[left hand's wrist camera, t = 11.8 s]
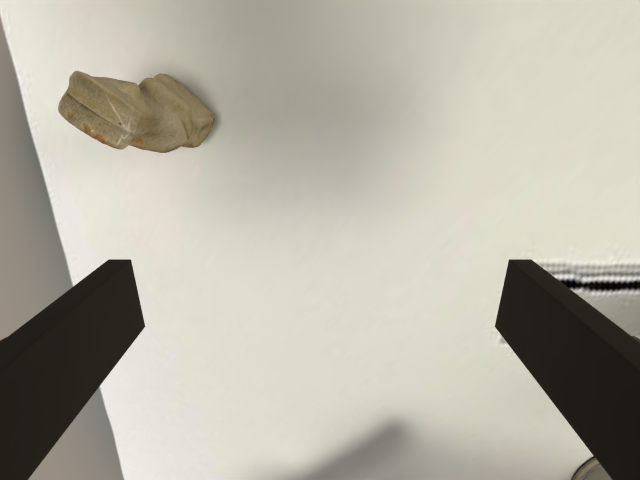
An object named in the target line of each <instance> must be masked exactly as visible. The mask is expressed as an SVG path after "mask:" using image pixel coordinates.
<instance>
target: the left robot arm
mask: <svg viewBox="0 0 640 480" xmlns="http://www.w3.org/2000/svg"><path fill="white" fill-rule="evenodd" d="M144 327H145V324H144V319H143V315H142V310H141V305H140V300H139V296H138V291H137V286H136V281H135V277H134V272H133V267H132V263H131V260H108V261H106V262H105V263H104V264H102V265H101V266H100V267H99V268H97V269H96V270H95V271H93V272H92V273H91V274H89V275H88V276H87V277H85V278H84V279H83V280H82V281H80V282H79V283H78V284H76V285H75V286H74V287H72V288H71V289H70V290H68V291H67V292H66V293H65V294H63V295H62V296H61V297H59V298H58V299H57V300H55V301H54V302H53V303H51V304H50V305H49V306H48V307H46V308H45V309H44V310H42V311H41V312H40V313H38V314H37V315H36V316H34V317H33V318H32V319H31V320H29V321H28V322H27V323H25V324H24V325H23V326H21V327H20V328H19V329H18V330H16V331H15V332H14V333H12V334H11V335H10V336H8V337H6V338H4V339H2V340H1V341H0V480H28V479H29V477H30V476H31V475H32V474H33V472H34V471H35V470H36V468H37V467H38V466H39V464H40V463H41V462H42V460H43V459H44V458H45V457H46V455H47V454H48V453H49V451H50V450H51V449H52V447H53V446H54V445H55V443H56V442H57V441H58V440H59V438H60V437H61V436H62V434H63V433H64V432H65V430H66V429H67V428H68V427H69V425H70V424H71V423H72V421H73V420H74V419H75V417H76V416H77V415H78V413H79V412H80V411H81V410H82V408H83V407H84V406H85V404H86V403H87V402H88V400H89V399H90V398H91V396H92V395H93V394H94V393H95V391H96V390H97V389H98V387H99V386H100V385H101V383H102V382H103V381H104V379H105V378H106V377H107V376H108V374H109V373H110V372H111V370H112V369H113V368H114V366H115V365H116V364H117V363H118V361H119V360H120V359H121V357H122V356H123V355H124V353H125V352H126V351H127V349H128V348H129V347H130V346H131V344H132V343H133V342H134V340H135V339H136V338H137V336H138V335H139V334H140V332H141V331H142V330H143V329H144ZM495 327H496V329H497V330H498V331H499V332H500V334H501V335H502V336H503V338H504V339H505V340H506V342H507V343H508V344H509V346H510V347H511V348H512V349H513V351H514V352H515V353H516V355H517V356H518V357H519V359H520V360H521V361H522V363H523V364H524V365H525V366H526V368H527V369H528V370H529V372H530V373H531V374H532V376H533V377H534V378H535V379H536V381H537V382H538V383H539V385H540V386H541V387H542V389H543V390H544V391H545V393H546V394H547V395H548V396H549V398H550V399H551V400H552V402H553V403H554V404H555V406H556V407H557V408H558V410H559V411H560V412H561V413H562V415H563V416H564V417H565V419H566V420H567V421H568V423H569V424H570V425H571V427H572V428H573V429H574V430H575V432H576V433H577V434H578V436H579V437H580V438H581V440H582V441H583V442H584V443H585V445H586V446H587V447H588V449H589V450H590V451H591V453H592V454H593V455H594V457H595V458H596V459H597V460H598V462H599V463H600V464H601V466H602V467H603V468H604V470H605V471H606V472H607V474H608V475H609V476H610V477H611V479H612V480H640V339H639V338H637V337H635V336H630V335H629V334H628V333H626V332H625V331H624V330H622V329H621V328H620V327H619V326H617V325H616V324H615V323H613V322H612V321H611V320H609V319H608V318H607V317H606V316H604V315H603V314H602V313H600V312H599V311H598V310H596V309H595V308H594V307H592V306H591V305H590V304H589V303H587V302H586V301H585V300H583V299H582V298H581V297H579V296H578V295H577V294H575V293H574V292H573V291H572V290H570V289H569V288H568V287H566V286H565V285H564V284H562V283H561V282H560V281H558V280H557V279H556V278H555V277H553V276H552V275H551V274H549V273H548V272H547V271H545V270H544V269H543V268H541V267H540V266H539V265H538V264H536V263H535V262H534V261H532V260H509V263H508V267H507V272H506V277H505V281H504V286H503V291H502V296H501V300H500V305H499V310H498V315H497V319H496V324H495Z"/></svg>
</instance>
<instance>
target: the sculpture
mask: <svg viewBox="0 0 640 480" xmlns="http://www.w3.org/2000/svg"><path fill="white" fill-rule="evenodd" d="M58 110H59V113H60V114H61V115H62V117H64V118H65V119H66V120H67V121H68V122H69V123H71V124H72V125H74V126H75V127H76V128H78V129H79V130H81V131H83V132H84V133H86V134H87V135H89V136H91V137H92V138H94V139H96V140H98V141H100V142H101V143H103V144H106V145H108V146H111V147H113V148H116V149H124V148H126V147H127V146H128V145H131V146H134V147H137V148H139V149H143V150H150V151H155V152H160V153H166V152H170V151H172V150H175V149H177V148H179V147H181V146H183V147H189V148H194V147H198V146H199V145H200V144H201V143H202V142H203V141H204V139H205V138H206V136H207V135H208V133H209V132H210V130H211V128H212V125H213V119H214V117H215V115H214V114H213V113H212V112H211V111H210V110H209V109H207V108H206V107H205V106H204V105H203V104H202V103H201V102H200V101H199V100H198V99H197V98H196V97H195V96H194V95H193V94H192V93H190V92H189V91H188V90H187V89H186V88H184V87H183V86H182V85H180V84H179V83H178V82H176V81H175V80H174V79H172V78H171V77H169V76H168V75H166V74H159V75H157V76H155V77H154V79H152V78H147V79H145V80H143V81H142V82H141V83H140V85H139V86H138V85H137V84H135V83H132V82H127V81H121V80H116V79H112V78H106V77H92V76H90V75H88V74H85V73H82V72H79V71H75V72H74V73H73V74H72V75H71V76H70V78H69V87H68V89H67V91H66V92H65V94H64V95H63V97H62V99H61V101H60V102H59V107H58Z"/></svg>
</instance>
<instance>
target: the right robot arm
mask: <svg viewBox="0 0 640 480" xmlns="http://www.w3.org/2000/svg"><path fill="white" fill-rule="evenodd" d="M573 480H612V479H611V477H610V476H609V475H608V474H607V472H606V471H605V470H604V468H603V467H602V466H601V464H600V463H599V462H598V460H597V459H596V458H593V459H592V460H590V461H589V462H587V463H586V464H585V465H584V466H582V467H581V468H580V469H579V471H578V472H577V473H576V474H575V476H574V478H573Z"/></svg>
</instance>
